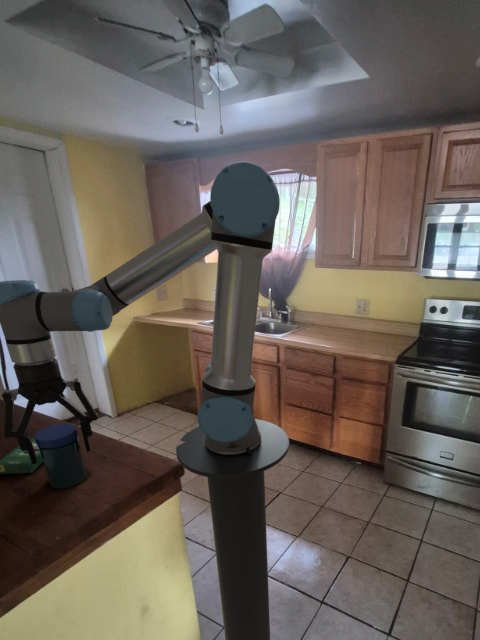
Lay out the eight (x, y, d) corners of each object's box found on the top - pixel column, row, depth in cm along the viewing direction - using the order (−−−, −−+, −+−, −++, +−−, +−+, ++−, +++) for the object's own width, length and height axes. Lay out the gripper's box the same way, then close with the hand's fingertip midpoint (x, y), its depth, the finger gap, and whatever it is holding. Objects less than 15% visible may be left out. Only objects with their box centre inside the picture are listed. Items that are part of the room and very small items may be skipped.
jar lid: (30, 450, 78) (27, 442, 77) (45, 432, 85) (43, 425, 84) (70, 446, 80) (68, 438, 79) (82, 429, 87) (81, 422, 86)
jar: (93, 476, 87) (82, 433, 83) (59, 492, 82) (45, 447, 77) (77, 466, 91) (66, 424, 87) (43, 481, 86) (29, 437, 81)
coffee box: (28, 447, 100) (-3, 475, 87) (25, 438, 98) (-7, 465, 86) (60, 446, 100) (33, 473, 88) (57, 436, 99) (30, 463, 87)
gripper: (95, 348, 83) (114, 435, 92) (-33, 364, 73) (3, 460, 81) (98, 357, 77) (118, 449, 86) (-40, 375, 67) (-2, 478, 76)
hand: (62, 454), depth 84 cm, fingers open, 10 cm apart
